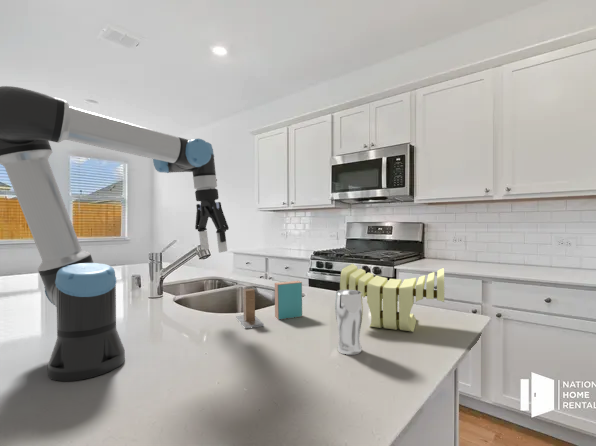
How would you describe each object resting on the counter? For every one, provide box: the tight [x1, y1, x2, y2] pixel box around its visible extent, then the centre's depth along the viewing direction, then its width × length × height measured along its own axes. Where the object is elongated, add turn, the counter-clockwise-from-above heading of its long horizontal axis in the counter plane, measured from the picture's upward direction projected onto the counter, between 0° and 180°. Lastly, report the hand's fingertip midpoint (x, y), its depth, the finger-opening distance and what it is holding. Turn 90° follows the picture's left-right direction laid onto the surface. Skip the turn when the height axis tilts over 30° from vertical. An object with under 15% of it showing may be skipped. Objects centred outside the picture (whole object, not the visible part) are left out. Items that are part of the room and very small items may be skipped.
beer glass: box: [334, 289, 364, 356], centre depth 85 cm, size 7×7×15 cm
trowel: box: [235, 288, 265, 329], centre depth 109 cm, size 12×6×11 cm, turn 24°
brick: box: [274, 280, 303, 320], centre depth 115 cm, size 3×9×12 cm, turn 114°
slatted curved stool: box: [339, 263, 445, 333], centre depth 106 cm, size 30×16×18 cm, turn 67°
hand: (213, 250), depth 115 cm, fingers open, 13 cm apart
